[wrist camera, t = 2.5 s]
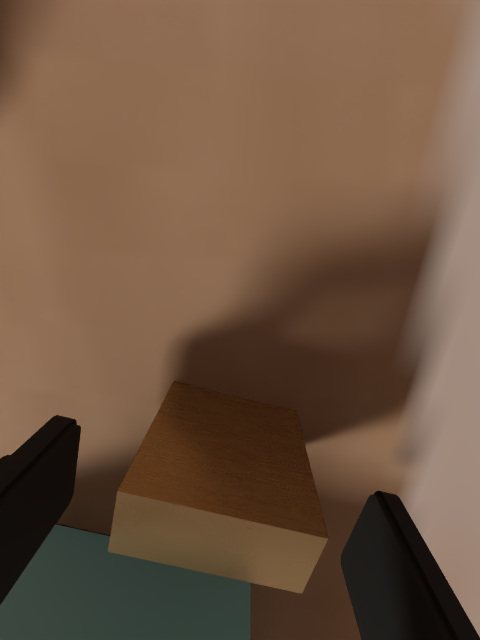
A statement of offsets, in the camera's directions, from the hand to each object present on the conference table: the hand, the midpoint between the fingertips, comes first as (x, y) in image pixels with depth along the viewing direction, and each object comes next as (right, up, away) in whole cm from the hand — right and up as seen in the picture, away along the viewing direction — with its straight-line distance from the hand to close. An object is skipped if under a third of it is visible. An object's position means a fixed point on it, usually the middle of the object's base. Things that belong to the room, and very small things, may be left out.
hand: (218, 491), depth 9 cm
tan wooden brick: (0, +1, +3) cm, 3 cm away
